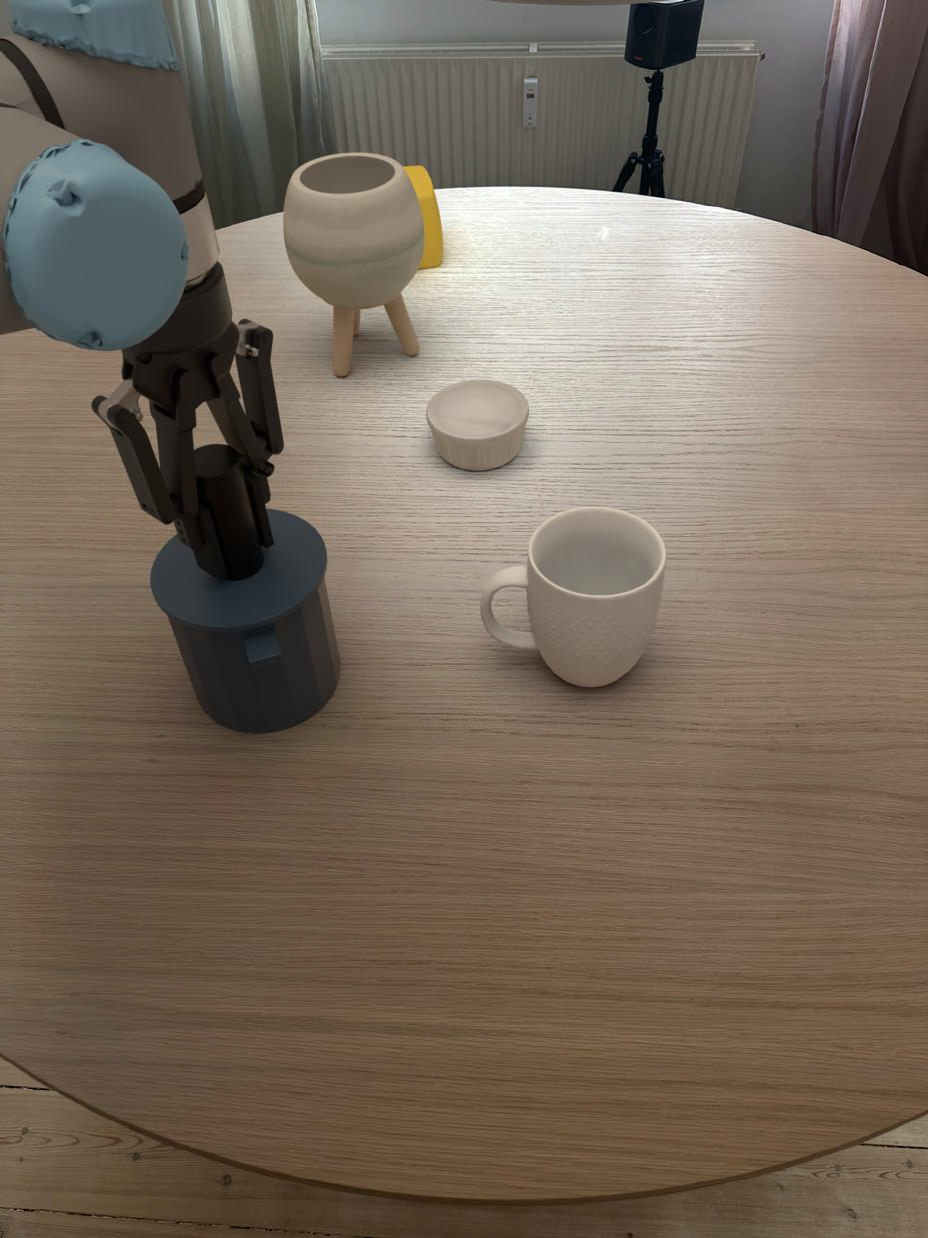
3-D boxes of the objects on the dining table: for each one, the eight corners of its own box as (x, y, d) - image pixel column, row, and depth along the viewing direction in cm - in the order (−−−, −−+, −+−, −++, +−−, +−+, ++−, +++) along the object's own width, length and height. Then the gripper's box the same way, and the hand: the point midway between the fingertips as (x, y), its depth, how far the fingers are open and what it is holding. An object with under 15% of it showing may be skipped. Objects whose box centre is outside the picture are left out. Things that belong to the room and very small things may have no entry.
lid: (166, 658, 72) (122, 543, 64) (143, 542, 81) (103, 429, 73) (348, 609, 75) (328, 493, 67) (306, 502, 84) (284, 389, 76)
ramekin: (446, 487, 105) (444, 447, 101) (416, 431, 112) (412, 391, 108) (544, 464, 107) (545, 423, 103) (507, 410, 114) (507, 370, 111)
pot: (214, 776, 79) (177, 675, 71) (182, 627, 91) (147, 524, 83) (364, 731, 82) (346, 628, 73) (314, 592, 94) (293, 489, 85)
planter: (332, 316, 131) (307, 141, 115) (447, 329, 128) (438, 150, 112) (285, 380, 121) (250, 197, 105) (409, 396, 117) (393, 209, 101)
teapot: (453, 281, 137) (449, 196, 129) (365, 290, 136) (355, 205, 128) (434, 220, 151) (429, 140, 143) (353, 229, 150) (344, 148, 142)
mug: (480, 707, 84) (476, 597, 74) (483, 615, 91) (480, 505, 82) (657, 708, 83) (675, 598, 73) (645, 615, 90) (660, 504, 81)
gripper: (227, 205, 66) (285, 483, 83) (1, 306, 57) (117, 594, 74) (303, 234, 62) (348, 518, 79) (75, 347, 54) (179, 639, 70)
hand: (236, 554), depth 76 cm, fingers closed on lid, 4 cm apart
